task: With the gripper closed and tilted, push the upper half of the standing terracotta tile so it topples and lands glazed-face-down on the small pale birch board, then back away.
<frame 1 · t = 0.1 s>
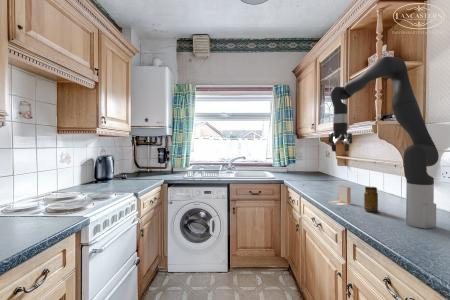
hand: (340, 151, 155), 29 cm above the countertop, tool pointing down, fingers open, 8 cm apart
tile: (344, 202, 156), resting on board
board: (340, 203, 155), on the countertop
condiment: (372, 211, 136), on the countertop
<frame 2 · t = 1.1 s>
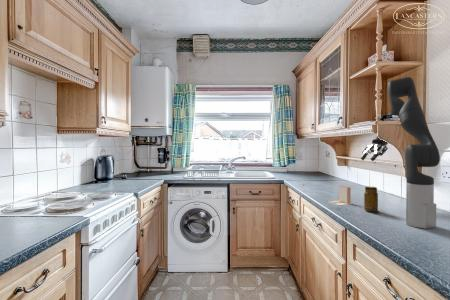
hand: (366, 159, 155), 24 cm above the countertop, tool tilted 45°, fingers open, 6 cm apart
nothing on the countertop moved.
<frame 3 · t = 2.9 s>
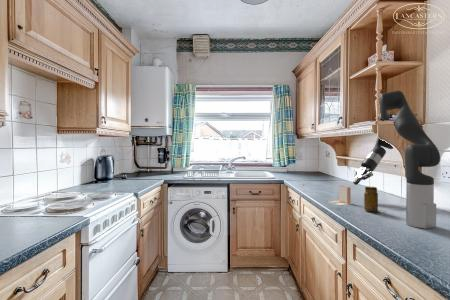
hand: (354, 183, 158), 10 cm above the countertop, tool tilted 45°, fingers closed
nothing on the countertop moved.
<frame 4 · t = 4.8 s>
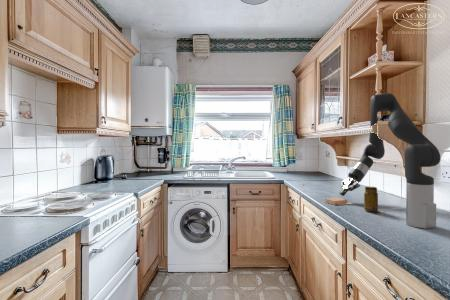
hand: (341, 194, 155), 5 cm above the countertop, tool tilted 45°, fingers closed
tile: (342, 200, 155), point 2 cm above the countertop, tilted 90°, touching board
everything else where it was.
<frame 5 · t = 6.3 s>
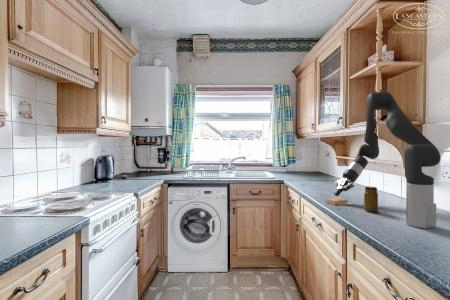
hand: (335, 195, 153), 5 cm above the countertop, tool tilted 45°, fingers closed
nothing on the countertop moved.
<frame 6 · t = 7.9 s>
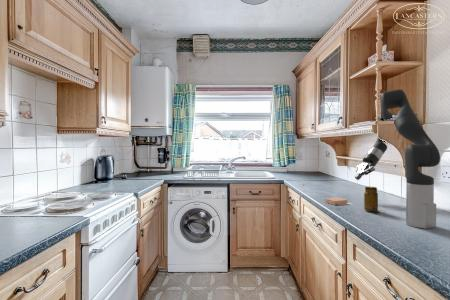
hand: (356, 178, 158), 13 cm above the countertop, tool tilted 45°, fingers closed
nothing on the countertop moved.
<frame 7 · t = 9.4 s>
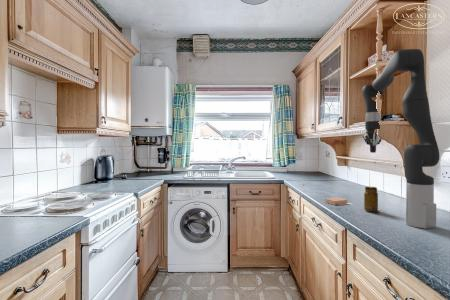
hand: (373, 152, 151), 29 cm above the countertop, tool pointing down, fingers closed
nothing on the countertop moved.
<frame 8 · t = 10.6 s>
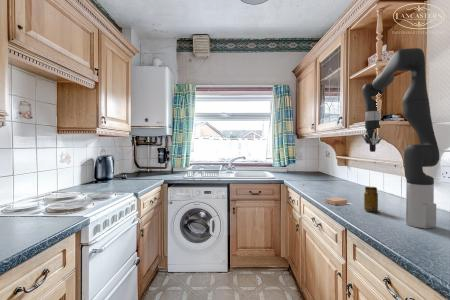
hand: (372, 151, 151), 29 cm above the countertop, tool pointing down, fingers closed
nothing on the countertop moved.
at the end: tile tilted 90°; tile 1.9 cm from the board (horizontally); the gripper is holding nothing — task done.
